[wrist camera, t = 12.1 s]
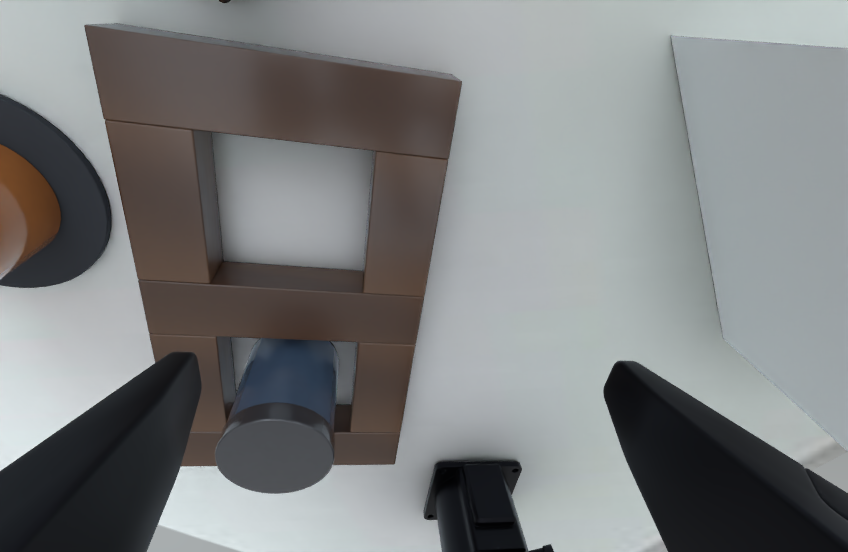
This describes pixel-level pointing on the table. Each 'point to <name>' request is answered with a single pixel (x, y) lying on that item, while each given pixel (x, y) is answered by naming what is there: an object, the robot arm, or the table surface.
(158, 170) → the jar stand
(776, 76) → the block
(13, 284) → the coaster
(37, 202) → the amber jar
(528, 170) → the table surface
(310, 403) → the spice jar
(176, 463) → the robot arm
